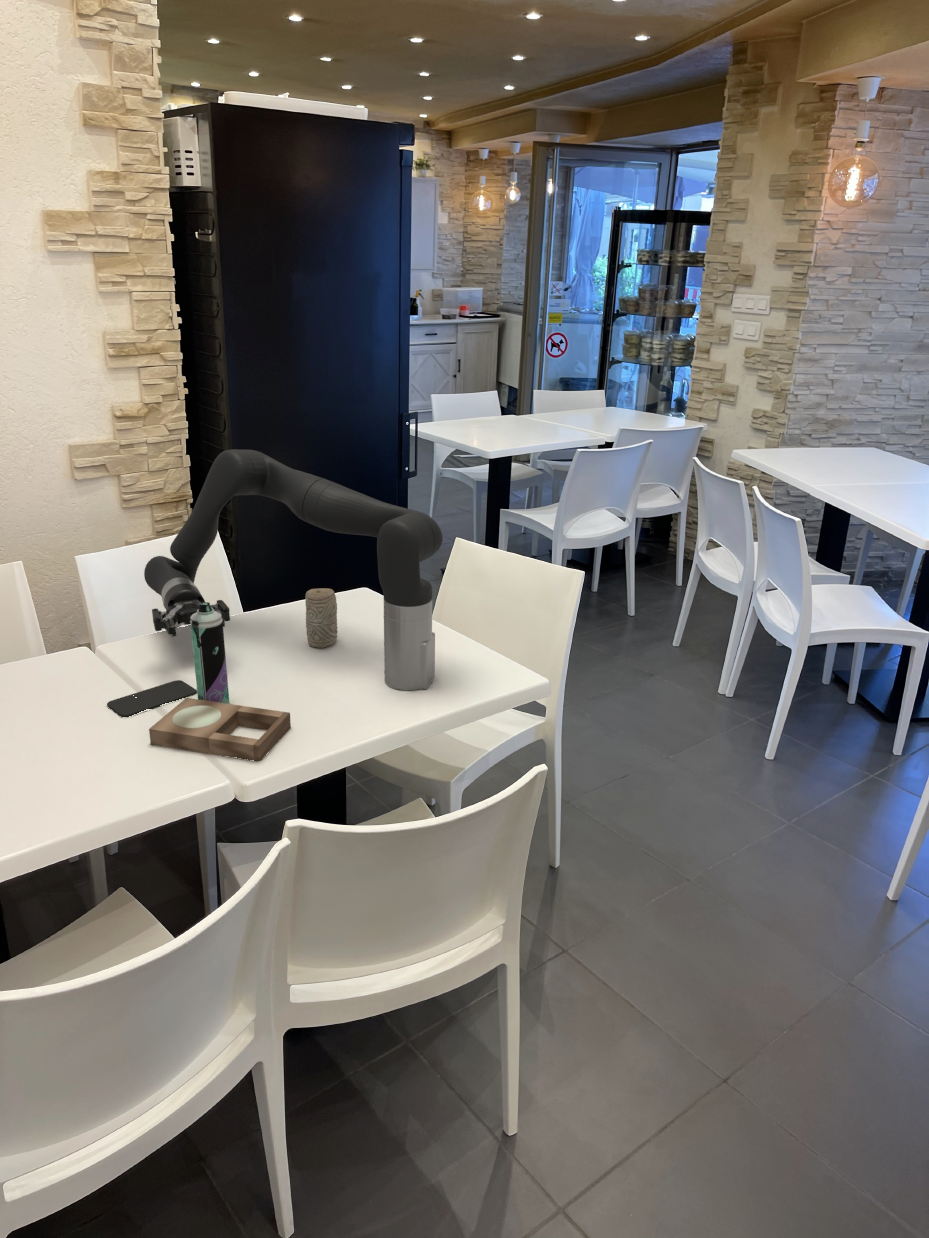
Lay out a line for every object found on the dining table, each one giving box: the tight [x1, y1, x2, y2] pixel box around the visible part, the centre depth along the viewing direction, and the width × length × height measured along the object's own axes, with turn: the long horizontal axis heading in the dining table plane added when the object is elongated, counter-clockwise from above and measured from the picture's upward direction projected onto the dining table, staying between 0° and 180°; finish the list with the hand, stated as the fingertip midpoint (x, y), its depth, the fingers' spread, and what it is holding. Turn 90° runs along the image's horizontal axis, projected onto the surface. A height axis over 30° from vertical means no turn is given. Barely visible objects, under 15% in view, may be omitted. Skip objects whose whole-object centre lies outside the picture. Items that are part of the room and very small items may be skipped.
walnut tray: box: [148, 697, 292, 762], centre depth 154 cm, size 20×12×3 cm, turn 76°
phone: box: [106, 679, 198, 718], centre depth 167 cm, size 7×1×15 cm
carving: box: [304, 587, 338, 649], centre depth 190 cm, size 6×8×12 cm
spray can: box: [189, 601, 230, 704], centre depth 161 cm, size 6×6×20 cm
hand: (197, 628), depth 170 cm, fingers open, 8 cm apart
